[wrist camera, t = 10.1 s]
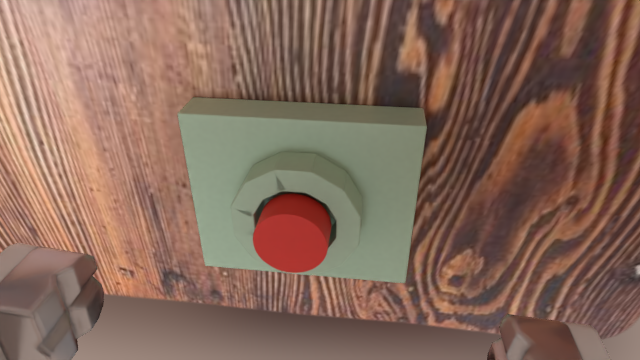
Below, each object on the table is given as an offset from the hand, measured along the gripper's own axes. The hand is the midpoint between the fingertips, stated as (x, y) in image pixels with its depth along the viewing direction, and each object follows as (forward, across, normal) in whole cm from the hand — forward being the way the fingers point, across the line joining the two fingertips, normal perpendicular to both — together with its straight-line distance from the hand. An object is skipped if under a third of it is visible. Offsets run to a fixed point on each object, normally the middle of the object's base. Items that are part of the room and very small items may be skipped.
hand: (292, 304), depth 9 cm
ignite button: (+12, +2, +7) cm, 14 cm away
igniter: (+15, +2, +7) cm, 17 cm away
